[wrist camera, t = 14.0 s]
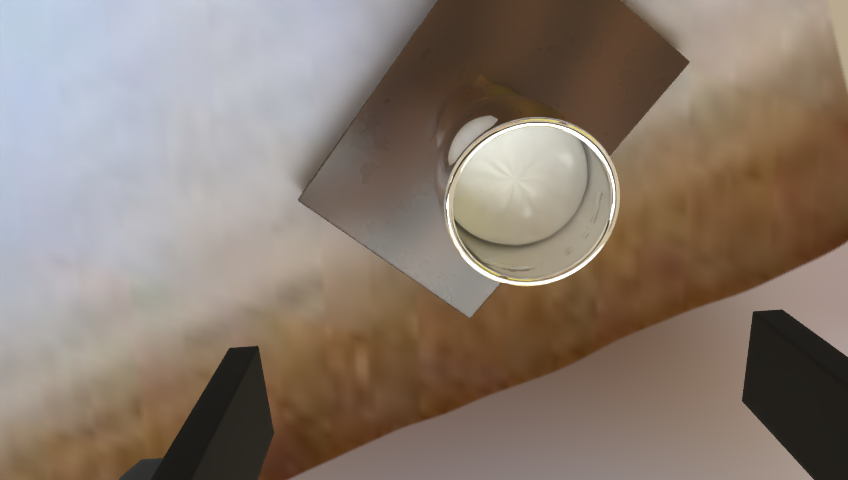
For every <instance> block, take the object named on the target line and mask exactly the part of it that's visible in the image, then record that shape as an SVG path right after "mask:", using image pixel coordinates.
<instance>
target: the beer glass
mask: <svg viewBox="0 0 848 480" xmlns="http://www.w3.org/2000/svg"><path fill="white" fill-rule="evenodd" d="M437 145H438V153H437V156H436V162H435V190H436V196H437V200H438V204H439V208H440V211H441V214H442V217H443V219H444V222H445V224H446V228H447V231H448V234H449V237H450V239H451V241H452V243H453V245H454V247H455V248H456V250H457V251H458V253H459V254H460V256H461V257H462V258H463V259H464V260H465V261H466V262H467V263H468V264H469V265H470V266H471V267H472V268H474V269H475V270H476V271H478V272H479V273H481V274H482V275H484V276H486V277H488V278H490V279H492V280H495V281H497V282H501V283H504V284H509V285H515V286H538V285H544V284H548V283H552V282H555V281H558V280H561V279H563V278H566V277H568V276H570V275H572V274H573V273H575V272H577V271H578V270H580V269H581V268H583V267H584V266H585V265H586V264H588V263H589V262H590V261H591V260H592V259H593V258H594V257H595V256H596V255H597V254H598V253H599V252H600V250H601V249H602V248H603V246H604V245H605V243H606V242H607V240H608V239H609V237H610V235H611V233H612V231H613V228H614V226H615V223H616V220H617V216H618V212H619V206H620V186H619V180H618V176H617V172H616V170H615V167H614V164H613V162H612V160H611V158H610V157H609V155H608V153H607V152H606V150H605V149H604V148H603V146H602V145H601V144H600V143H599V142H598V141H597V140H596V139H595V138H594V137H593V136H591V135H590V134H589V133H588V132H587V131H586V130H585V129H584V128H583V127H582V126H581V125H580V124H579V123H578V122H577V121H576V120H575V119H574V118H572V117H571V116H570V115H568V114H567V113H566V112H564V111H563V110H561V109H560V108H558V107H556V106H554V105H552V104H550V103H548V102H546V101H543V100H541V99H538V98H535V97H531V96H526V95H519V94H518V93H517V92H515V91H514V90H512V89H510V88H508V87H506V86H503V85H499V84H492V83H485V84H478V85H474V86H471V87H469V88H466V89H464V90H463V91H461V92H459V93H458V94H457V95H456V96H454V97H453V98H452V99H451V100H450V101H449V103H448V104H447V105H446V107H445V108H444V110H443V112H442V114H441V116H440V118H439V122H438V126H437Z"/></svg>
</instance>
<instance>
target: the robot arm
mask: <svg viewBox="0 0 848 480" xmlns="http://www.w3.org/2000/svg"><path fill="white" fill-rule="evenodd" d="M742 401H743V403H744V404H745V405H746V406H747V407H748V408H749V409H750V410H751V411H752V412H753V413H754V415H755V416H756V417H757V418H758V419H759V420H760V421H761V422H762V423H763V424H764V425H765V426H766V428H767V429H768V430H769V431H770V432H771V433H772V434H773V435H774V436H775V437H776V439H777V440H778V441H779V442H780V443H781V444H782V445H783V446H784V447H785V448H786V449H787V451H788V452H789V453H790V454H791V455H792V456H793V457H794V458H795V459H796V460H797V462H798V463H799V464H800V465H801V466H802V467H803V468H804V469H805V470H806V471H807V472H808V473H809V475H810V476H811V477H812V478H813V479H814V480H848V357H847V356H845V355H844V354H843V353H841V352H840V351H838V350H837V349H836V348H834V347H833V346H832V345H830V344H829V343H828V342H826V341H824V340H823V339H822V338H821V337H819V336H818V335H816V334H815V333H814V332H812V331H811V330H810V329H808V328H807V327H805V326H804V325H803V324H801V323H800V322H799V321H797V320H796V319H794V318H793V317H792V316H790V315H789V314H788V313H786V312H785V311H783V310H768V311H755V312H753V316H752V325H751V333H750V341H749V349H748V357H747V366H746V373H745V381H744V389H743V398H742ZM273 434H274V431H273V425H272V419H271V414H270V408H269V403H268V397H267V392H266V386H265V381H264V375H263V369H262V364H261V358H260V353H259V347H258V346H252V347H238V348H229V350H228V351H227V353H226V355H225V356H224V358H223V360H222V361H221V363H220V365H219V366H218V368H217V370H216V371H215V373H214V375H213V376H212V378H211V380H210V381H209V383H208V385H207V386H206V388H205V390H204V391H203V393H202V395H201V396H200V398H199V400H198V401H197V403H196V405H195V406H194V408H193V410H192V411H191V413H190V415H189V416H188V418H187V420H186V421H185V423H184V425H183V426H182V428H181V430H180V431H179V433H178V435H177V436H176V438H175V440H174V441H173V443H172V445H171V446H170V448H169V450H168V451H167V453H166V455H165V456H164V458H158V459H143V460H141V461H139V462H138V463H137V464H136V465H135V466H133V467H132V468H131V469H130V470H129V471H127V472H126V473H125V474H124V475H123V476H121V477H120V479H119V480H257V479H258V477H259V474H260V471H261V468H262V465H263V463H264V460H265V457H266V454H267V451H268V448H269V446H270V443H271V440H272V437H273Z"/></svg>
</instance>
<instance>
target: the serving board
mask: <svg viewBox="0 0 848 480" xmlns="http://www.w3.org/2000/svg"><path fill="white" fill-rule="evenodd" d="M688 64H689V61H688V60H687V59H686V58H685V57H684V56H683V55H682V54H681V53H679V52H678V51H677V50H676V49H675V48H674V47H673V46H671V45H670V44H669V43H668V42H667V41H666V40H665V39H664V38H662V37H661V36H660V35H659V34H658V33H657V32H656V31H654V30H653V29H652V28H651V27H650V26H649V25H648V24H646V23H645V22H644V21H643V20H642V19H641V18H640V17H639V16H637V15H636V14H635V13H634V12H633V11H632V10H631V9H629V8H628V7H627V6H626V5H625V4H624V3H623V2H622V1H620V0H437V2H436V3H435V5H434V6H433V8H432V9H431V10H430V12H429V13H428V15H427V16H426V18H425V19H424V20H423V22H422V23H421V25H420V26H419V28H418V29H417V30H416V32H415V33H414V35H413V36H412V38H411V39H410V40H409V42H408V43H407V45H406V46H405V48H404V49H403V50H402V52H401V53H400V55H399V56H398V57H397V59H396V60H395V62H394V63H393V65H392V66H391V67H390V69H389V70H388V72H387V73H386V75H385V76H384V77H383V79H382V80H381V82H380V83H379V85H378V86H377V87H376V89H375V90H374V92H373V93H372V95H371V96H370V97H369V99H368V100H367V102H366V103H365V105H364V106H363V107H362V109H361V110H360V112H359V113H358V115H357V116H356V117H355V119H354V120H353V122H352V123H351V125H350V126H349V127H348V129H347V130H346V132H345V133H344V134H343V136H342V137H341V139H340V140H339V142H338V143H337V144H336V146H335V147H334V149H333V150H332V152H331V153H330V154H329V156H328V157H327V159H326V160H325V162H324V163H323V164H322V166H321V167H320V169H319V170H318V172H317V173H316V174H315V176H314V177H313V179H312V180H311V182H310V183H309V184H308V186H307V187H306V189H305V190H304V192H303V193H302V194H301V196H300V197H299V199H298V201H299V202H301V203H302V204H304V205H305V206H307V207H308V208H310V209H311V210H313V211H314V212H315V213H317V214H318V215H320V216H321V217H323V218H324V219H326V220H327V221H329V222H330V223H331V224H333V225H334V226H336V227H337V228H339V229H340V230H342V231H343V232H345V233H346V234H347V235H349V236H350V237H352V238H353V239H355V240H356V241H358V242H359V243H361V244H362V245H363V246H365V247H366V248H368V249H369V250H371V251H372V252H374V253H375V254H377V255H378V256H379V257H381V258H382V259H384V260H385V261H387V262H388V263H390V264H391V265H393V266H394V267H395V268H397V269H398V270H400V271H401V272H403V273H404V274H406V275H407V276H409V277H410V278H411V279H413V280H414V281H416V282H417V283H419V284H420V285H422V286H423V287H425V288H426V289H427V290H429V291H430V292H432V293H433V294H435V295H436V296H438V297H439V298H441V299H442V300H443V301H445V302H446V303H448V304H449V305H451V306H452V307H454V308H455V309H457V310H458V311H459V312H461V313H462V314H464V315H465V316H467V317H468V318H471V317H472V316H473V315H474V314H475V313H476V311H477V310H478V309H479V308H480V307H481V306H482V304H483V303H484V302H485V301H486V300H487V299H488V297H489V296H490V295H491V294H492V293H493V292H494V290H495V289H496V288H497V287H498V286H499V285H500V283H501V282H497V281H495V280H492V279H490V278H488V277H486V276H484V275H482V274H481V273H479V272H478V271H476V270H475V269H474V268H472V267H471V266H470V265H469V264H468V263H467V262H466V261H465V260H464V259H463V258H462V257H461V256H460V254H459V253H458V251H457V250H456V248H455V247H454V245H453V243H452V241H451V239H450V237H449V234H448V231H447V228H446V224H445V222H444V219H443V217H442V214H441V211H440V208H439V204H438V200H437V196H436V190H435V162H436V156H437V153H438V145H437V126H438V122H439V118H440V116H441V114H442V112H443V110H444V108H445V107H446V105H447V104H448V103H449V101H450V100H451V99H452V98H453V97H454V96H456V95H457V94H458V93H459V92H461V91H463V90H464V89H466V88H469V87H471V86H474V85H478V84H485V83H492V84H499V85H503V86H506V87H508V88H510V89H512V90H514V91H515V92H517V93H518V94H519V95H526V96H531V97H535V98H538V99H541V100H543V101H546V102H548V103H550V104H552V105H554V106H556V107H558V108H560V109H561V110H563V111H564V112H566V113H567V114H568V115H570V116H571V117H572V118H574V119H575V120H576V121H577V122H578V123H579V124H580V125H581V126H582V127H583V128H584V129H585V130H586V131H587V132H588V133H589V134H590V135H591V136H593V137H594V138H595V139H596V140H597V141H598V142H599V143H600V144H601V145H602V146H603V148H604V149H605V150H606V152H607V153H608V155H609V156H610V155H611V154H612V153H613V151H614V150H615V149H616V148H617V147H618V146H619V144H620V143H621V142H622V141H623V140H624V139H625V137H626V136H627V135H628V134H629V133H630V131H631V130H632V129H633V128H634V127H635V126H636V124H637V123H638V122H639V121H640V120H641V119H642V117H643V116H644V115H645V114H646V113H647V112H648V110H649V109H650V108H651V107H652V106H653V105H654V103H655V102H656V101H657V100H658V99H659V98H660V96H661V95H662V94H663V93H664V92H665V91H666V89H667V88H668V87H669V86H670V85H671V84H672V82H673V81H674V80H675V79H676V78H677V77H678V75H679V74H680V73H681V72H682V71H683V70H684V68H685V67H686V66H687V65H688Z"/></svg>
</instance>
